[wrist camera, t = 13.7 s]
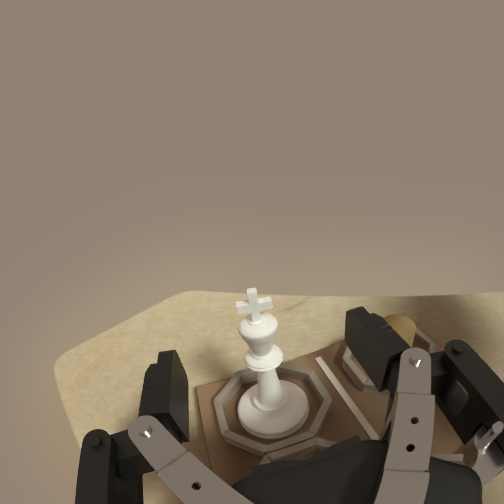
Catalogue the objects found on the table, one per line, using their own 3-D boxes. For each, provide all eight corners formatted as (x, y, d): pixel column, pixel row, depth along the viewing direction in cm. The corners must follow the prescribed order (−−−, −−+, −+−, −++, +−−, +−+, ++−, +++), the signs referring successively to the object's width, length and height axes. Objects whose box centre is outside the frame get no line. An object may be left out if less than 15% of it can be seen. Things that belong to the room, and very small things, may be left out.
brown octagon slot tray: (400, 326, 24) (407, 283, 22) (507, 423, 9) (539, 380, 7) (201, 397, 20) (182, 356, 18) (250, 577, 5) (230, 583, 4)
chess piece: (316, 430, 14) (318, 310, 10) (240, 444, 14) (194, 331, 10) (301, 378, 19) (292, 260, 15) (236, 389, 19) (203, 275, 15)
